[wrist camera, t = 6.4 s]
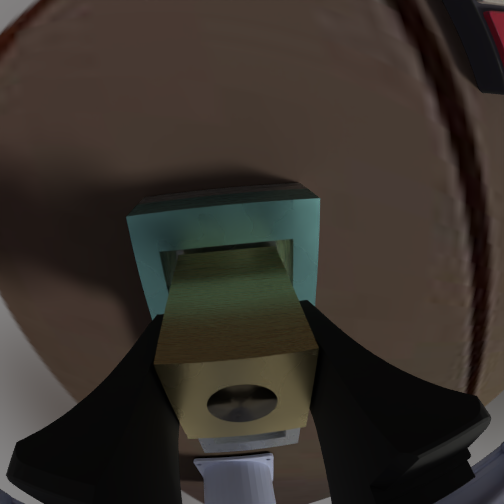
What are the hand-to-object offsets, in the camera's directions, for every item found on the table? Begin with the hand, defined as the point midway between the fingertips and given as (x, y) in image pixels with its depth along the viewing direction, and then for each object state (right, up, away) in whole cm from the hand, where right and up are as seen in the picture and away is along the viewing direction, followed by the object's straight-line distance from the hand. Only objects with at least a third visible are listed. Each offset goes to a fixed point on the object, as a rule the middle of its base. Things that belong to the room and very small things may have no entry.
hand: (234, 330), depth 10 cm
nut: (0, +1, +3) cm, 3 cm away
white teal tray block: (0, -3, +6) cm, 7 cm away
